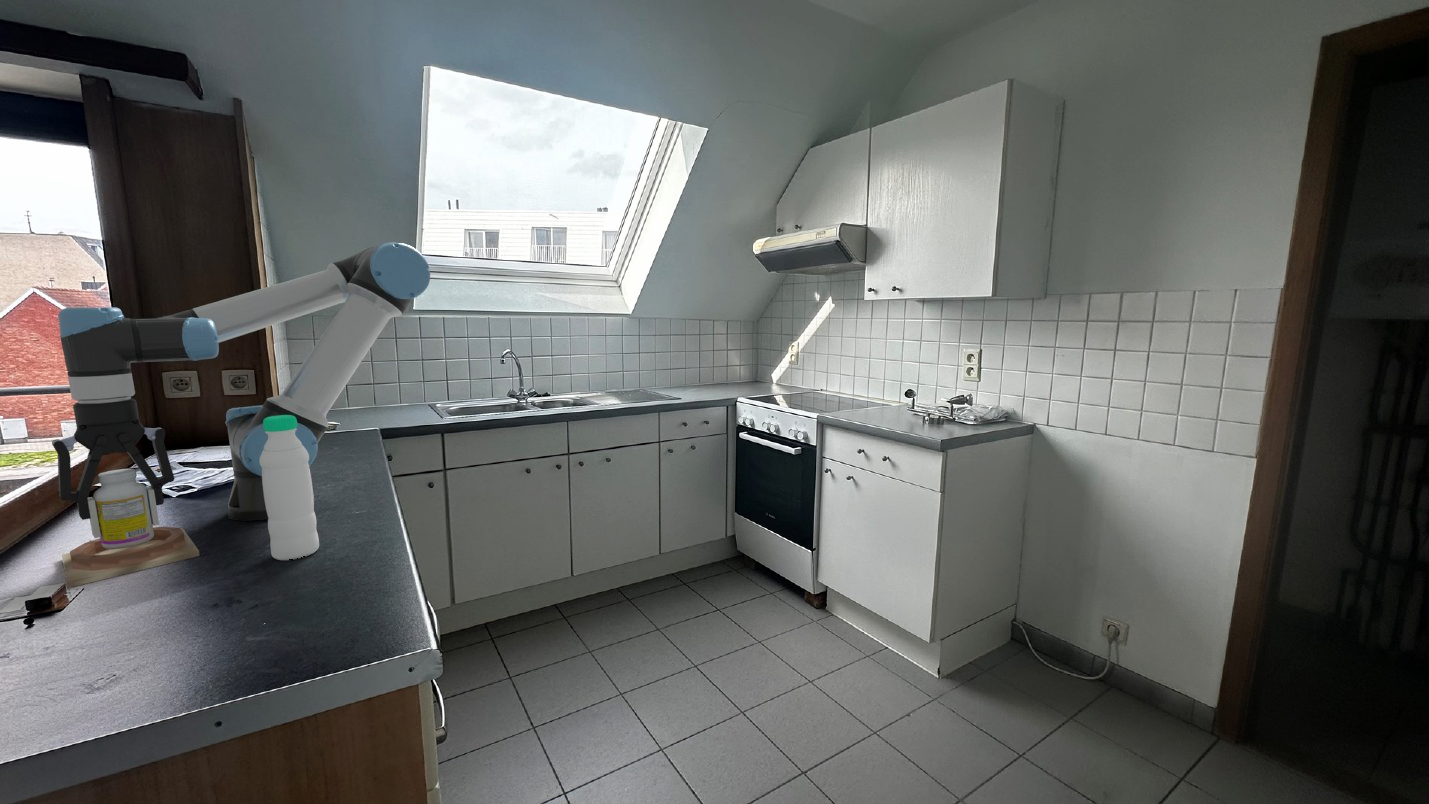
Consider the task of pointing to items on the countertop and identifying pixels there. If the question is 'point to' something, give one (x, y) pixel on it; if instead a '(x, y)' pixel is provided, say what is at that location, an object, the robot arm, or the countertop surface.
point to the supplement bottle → (122, 510)
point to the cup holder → (126, 556)
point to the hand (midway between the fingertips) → (126, 529)
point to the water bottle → (288, 490)
